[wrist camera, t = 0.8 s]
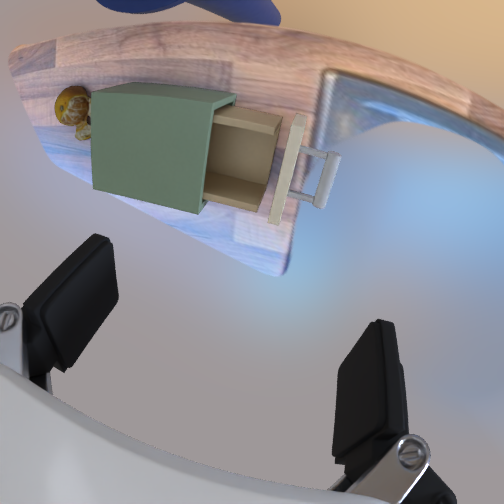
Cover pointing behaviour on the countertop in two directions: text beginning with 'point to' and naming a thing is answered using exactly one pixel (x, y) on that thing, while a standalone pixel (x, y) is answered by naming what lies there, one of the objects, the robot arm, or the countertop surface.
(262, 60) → the countertop surface
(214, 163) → the drawer
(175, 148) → the cabinet
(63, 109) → the fruit
